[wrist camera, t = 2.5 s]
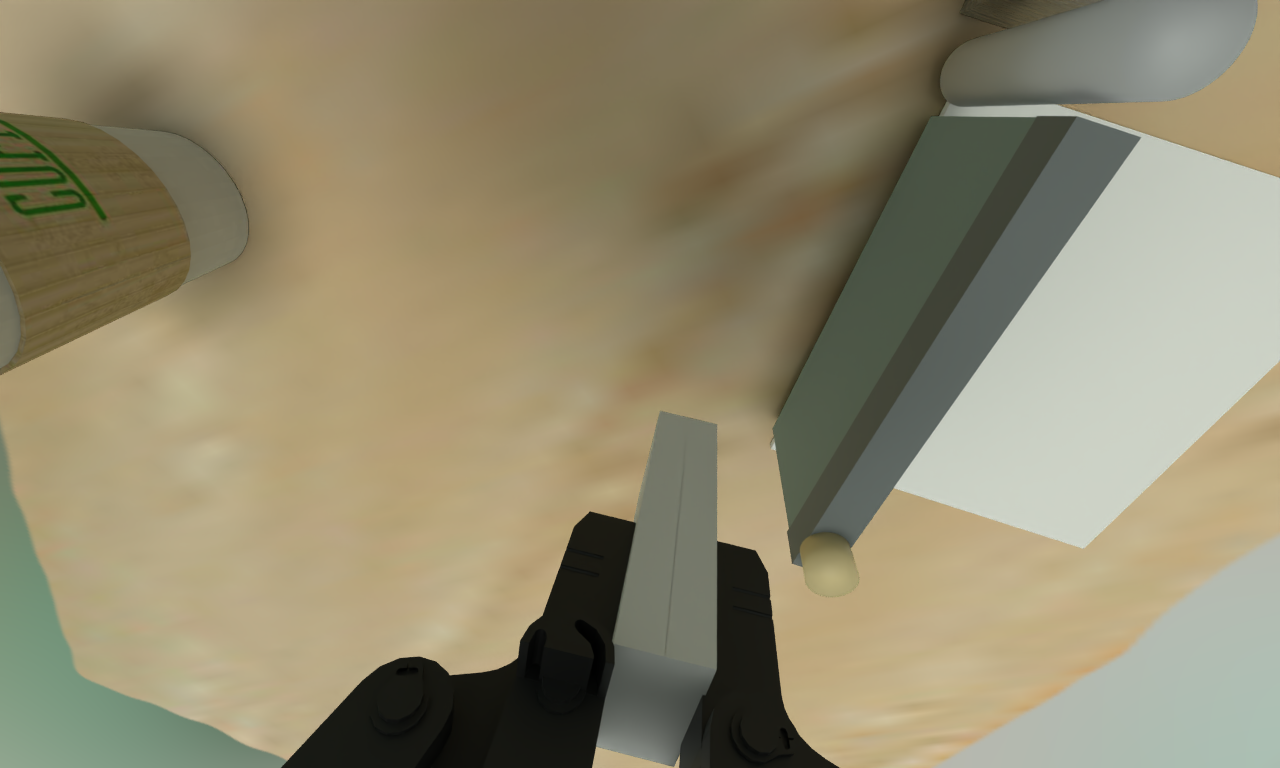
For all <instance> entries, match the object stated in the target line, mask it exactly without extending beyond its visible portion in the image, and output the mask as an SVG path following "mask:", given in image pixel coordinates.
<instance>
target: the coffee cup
mask: <svg viewBox="0 0 1280 768" xmlns="http://www.w3.org/2000/svg"><path fill="white" fill-rule="evenodd" d="M248 233H249V231H248V218H247V213H246V208H245V206H244V203H243V200H242V198H241V195H240V193H239V191H238V190H237V188H236V186H235V184H234V182H233V181H232V179H231V178H230V177H229V175H228V174H227V172H226V171H225V170H224V168H223V167H222V166H221V165H220V164H219V163H218V162H217V161H216V160H215V159H214V158H213V157H212V156H211V155H210V154H209V153H207V152H206V151H205V150H204V149H202V148H201V147H200V146H198V145H197V144H195V143H193V142H192V141H190V140H188V139H186V138H184V137H181V136H179V135H176V134H173V133H168V132H163V131H153V130H142V129H131V128H120V127H109V126H98V125H88V124H86V123H84V122H79V121H74V120H69V119H63V118H53V117H43V116H33V115H23V114H13V113H3V112H0V375H2V374H4V373H6V372H8V371H10V370H12V369H14V368H16V367H18V366H21V365H23V364H25V363H27V362H29V361H31V360H33V359H35V358H37V357H39V356H41V355H44V354H46V353H48V352H50V351H52V350H54V349H56V348H58V347H60V346H62V345H65V344H67V343H69V342H71V341H73V340H75V339H77V338H79V337H81V336H83V335H85V334H88V333H90V332H92V331H94V330H96V329H98V328H100V327H102V326H104V325H106V324H109V323H111V322H113V321H115V320H117V319H119V318H121V317H123V316H125V315H127V314H130V313H132V312H134V311H136V310H138V309H140V308H142V307H144V306H146V305H148V304H150V303H153V302H155V301H157V300H159V299H161V298H163V297H165V296H167V295H169V294H171V293H172V292H174V291H176V290H177V289H178V288H179V287H180V286H181V285H183V284H185V283H187V282H189V281H191V280H193V279H195V278H198V277H200V276H202V275H204V274H206V273H208V272H211V271H213V270H215V269H217V268H219V267H221V266H224V265H226V264H228V263H230V262H231V261H233V260H235V259H236V258H237V257H238V256H239V255H240V254H241V253H242V252H243V250H244V248H245V246H246V244H247V239H248Z"/></svg>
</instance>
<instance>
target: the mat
mask: <svg viewBox="0 0 1280 768" xmlns="http://www.w3.org/2000/svg"><path fill="white" fill-rule="evenodd" d="M939 116H969V117H1037V116H1078V117H1081V118H1084V119H1087V120H1090V121H1094V122H1097V123H1100V124H1103V125H1106V126H1109V127H1112V128H1115V129H1118V130H1121V131H1124V132H1127V133H1130V134H1133V135H1136V136H1139V137H1141V139H1140V140H1139V142H1138V143H1137V144H1136V146H1135V147H1134V149H1133V150H1132V151H1131V153H1130V154H1129V156H1128V157H1127V159H1126V160H1125V161H1124V163H1123V164H1122V166H1121V167H1120V168H1119V170H1118V171H1117V173H1116V174H1115V175H1114V177H1113V178H1112V180H1111V181H1110V183H1109V184H1108V185H1107V187H1106V188H1105V190H1104V191H1103V192H1102V194H1101V195H1100V197H1099V198H1098V200H1097V201H1096V202H1095V204H1094V205H1093V207H1092V208H1091V209H1090V211H1089V212H1088V214H1087V215H1086V216H1085V218H1084V219H1083V221H1082V222H1081V224H1080V225H1079V226H1078V228H1077V229H1076V231H1075V232H1074V233H1073V235H1072V236H1071V238H1070V239H1069V241H1068V242H1067V243H1066V245H1065V246H1064V248H1063V249H1062V250H1061V252H1060V253H1059V255H1058V256H1057V257H1056V259H1055V260H1054V262H1053V263H1052V265H1051V266H1050V267H1049V269H1048V270H1047V272H1046V273H1045V274H1044V276H1043V277H1042V279H1041V280H1040V282H1039V283H1038V284H1037V286H1036V287H1035V289H1034V290H1033V291H1032V293H1031V294H1030V296H1029V297H1028V299H1027V300H1026V301H1025V303H1024V304H1023V306H1022V307H1021V308H1020V310H1019V311H1018V313H1017V314H1016V315H1015V317H1014V318H1013V320H1012V321H1011V323H1010V324H1009V325H1008V327H1007V328H1006V330H1005V331H1004V332H1003V334H1002V335H1001V337H1000V338H999V340H998V341H997V342H996V344H995V345H994V347H993V348H992V349H991V351H990V352H989V354H988V355H987V356H986V358H985V359H984V361H983V362H982V364H981V365H980V366H979V368H978V369H977V371H976V372H975V373H974V375H973V376H972V378H971V379H970V381H969V382H968V383H967V385H966V386H965V388H964V389H963V390H962V392H961V393H960V395H959V396H958V397H957V399H956V400H955V402H954V403H953V405H952V406H951V407H950V409H949V410H948V412H947V413H946V414H945V416H944V417H943V419H942V420H941V422H940V423H939V424H938V426H937V427H936V429H935V430H934V431H933V433H932V434H931V436H930V437H929V438H928V440H927V441H926V443H925V444H924V446H923V447H922V448H921V450H920V451H919V453H918V454H917V455H916V457H915V458H914V460H913V461H912V463H911V464H910V465H909V467H908V468H907V470H906V471H905V472H904V474H903V475H902V477H901V478H900V480H899V481H898V482H897V484H896V485H895V487H894V488H895V489H898V490H901V491H905V492H908V493H911V494H914V495H917V496H920V497H923V498H926V499H930V500H933V501H936V502H939V503H942V504H945V505H948V506H952V507H955V508H958V509H961V510H964V511H967V512H970V513H973V514H977V515H980V516H983V517H986V518H989V519H992V520H995V521H999V522H1002V523H1005V524H1008V525H1011V526H1014V527H1017V528H1020V529H1024V530H1027V531H1030V532H1033V533H1036V534H1039V535H1042V536H1046V537H1049V538H1052V539H1055V540H1058V541H1061V542H1064V543H1067V544H1071V545H1074V546H1077V547H1080V548H1083V549H1084V548H1085V547H1086V546H1087V545H1088V544H1089V543H1090V542H1091V541H1092V540H1093V539H1094V538H1095V537H1096V536H1097V535H1098V534H1100V533H1101V532H1102V531H1103V530H1104V529H1105V528H1106V527H1107V526H1108V525H1109V524H1110V523H1111V522H1112V521H1113V520H1114V519H1115V518H1116V517H1117V516H1118V515H1119V514H1120V513H1121V512H1122V511H1124V510H1125V509H1126V508H1127V507H1128V506H1129V505H1130V504H1131V503H1132V502H1133V501H1134V500H1135V499H1136V498H1137V497H1138V496H1139V495H1140V494H1141V493H1142V492H1143V491H1144V490H1145V489H1146V488H1148V487H1149V486H1150V485H1151V484H1152V483H1153V482H1154V481H1155V480H1156V479H1157V478H1158V477H1159V476H1160V475H1161V474H1162V473H1163V472H1164V471H1165V470H1166V469H1167V468H1168V467H1169V466H1170V465H1171V464H1173V463H1174V462H1175V461H1176V460H1177V459H1178V458H1179V457H1180V456H1181V455H1182V454H1183V453H1184V452H1185V451H1186V450H1187V449H1188V448H1189V447H1190V446H1191V445H1192V444H1193V443H1194V442H1195V441H1197V440H1198V439H1199V438H1200V437H1201V436H1202V435H1203V434H1204V433H1205V432H1206V431H1207V430H1208V429H1209V428H1210V427H1211V426H1212V425H1213V424H1214V423H1215V422H1216V421H1217V420H1218V419H1219V418H1221V417H1222V416H1223V415H1224V414H1225V413H1226V412H1227V411H1228V410H1229V409H1230V408H1231V407H1232V406H1233V405H1234V404H1235V403H1236V402H1237V401H1238V400H1239V399H1240V398H1241V397H1242V396H1243V395H1245V394H1246V393H1247V392H1248V391H1249V390H1250V389H1251V388H1252V387H1253V386H1254V385H1255V384H1256V383H1257V382H1258V381H1259V380H1260V379H1261V378H1262V377H1263V376H1264V375H1265V374H1266V373H1267V372H1268V371H1270V370H1271V369H1272V368H1273V367H1274V366H1275V365H1276V364H1277V363H1278V362H1279V361H1280V178H1278V177H1275V176H1272V175H1269V174H1266V173H1263V172H1260V171H1257V170H1254V169H1251V168H1248V167H1245V166H1242V165H1239V164H1235V163H1232V162H1229V161H1226V160H1223V159H1220V158H1217V157H1214V156H1211V155H1208V154H1205V153H1202V152H1199V151H1196V150H1193V149H1190V148H1187V147H1184V146H1181V145H1178V144H1175V143H1172V142H1169V141H1166V140H1163V139H1159V138H1156V137H1153V136H1150V135H1147V134H1144V133H1141V132H1138V131H1135V130H1132V129H1129V128H1126V127H1123V126H1120V125H1117V124H1114V123H1111V122H1108V121H1105V120H1102V119H1099V118H1096V117H1093V116H1090V115H1087V114H1083V113H1080V112H1077V111H1074V110H1071V109H1068V108H1065V107H1062V106H1059V105H1056V104H1052V105H1017V106H982V107H958V106H955V105H952V104H951V103H949V102H948V101H947V102H946V104H945V106H944V108H943V110H942V112H941V114H940V115H939ZM770 446H771V449H773V450H776V446H775V440H774V438H773V440H772V442H771V444H770Z"/></svg>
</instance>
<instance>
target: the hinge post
mask: <svg viewBox="0 0 1280 768" xmlns="http://www.w3.org/2000/svg"><path fill="white" fill-rule="evenodd" d="M1100 1H1103V0H966V1H965V3H964V5H963V7H962V9H961V11H960V13H961V14H964V15H967V16H970V17H973V18H976V19H979V20H983V21H986V22H989V23H992V24H995V25H998V26H1001V27H1004V28H1007V29H1009V28H1012V27H1015V26H1019V25H1022V24H1025V23H1029V22H1032V21H1036V20H1039V19H1042V18H1046V17H1049V16H1052V15H1056V14H1059V13H1063V12H1066V11H1069V10H1073V9H1076V8H1079V7H1083V6H1086V5H1089V4H1093V3H1096V2H1100Z"/></svg>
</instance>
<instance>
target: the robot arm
mask: <svg viewBox="0 0 1280 768" xmlns="http://www.w3.org/2000/svg"><path fill="white" fill-rule="evenodd" d="M596 747H600V748H603V749H607V750H611V751H615V752H619V753H623V754H627V755H630V756H634V757H638V758H642V759H646V760H650V761H653V762H657V763H661V764H665V765H669V766H673V767H674V766H675V763H676V761H677V759H678V757H679V754H680V764H679V768H839V767H838V766H836V765H834V764H833V763H831V762H830V761H828V760H826V759H825V758H824V757H822V756H821V755H820V754H818V753H817V752H816V751H814V750H813V749H812V748H811V747H810V746H809V745H808V744H807V743H806V742H805V741H804V740H803V739H802V738H801V737H800V735H799V734H798V732H797V731H796V728H795V727H794V725H793V724H792V722H791V721H790V719H789V717H788V715H787V713H786V710H785V708H784V704H783V700H782V695H781V687H780V678H779V669H778V660H777V651H776V642H775V633H774V624H773V620H772V606H771V600H770V588H769V579H768V572H767V570H766V569H765V567H764V565H763V563H762V561H761V559H760V558H759V556H758V554H757V552H756V551H755V550H751V549H747V548H743V547H739V546H735V545H731V544H726V543H722V542H718V541H717V424H713V423H709V422H705V421H701V420H697V419H692V418H688V417H684V416H680V415H676V414H671V413H667V412H663V411H660V413H659V417H658V421H657V425H656V429H655V433H654V437H653V441H652V445H651V449H650V453H649V457H648V461H647V465H646V469H645V473H644V477H643V481H642V485H641V489H640V494H639V498H638V503H637V508H636V513H635V517H634V522H631V521H626V520H622V519H618V518H614V517H610V516H606V515H602V514H598V513H594V512H589V513H588V514H587V515H586V516H585V517H584V518H583V519H582V520H581V521H580V522H579V523H578V524H576V525H575V526H574V529H573V532H572V534H571V537H570V540H569V543H568V546H567V549H566V551H565V554H564V557H563V560H562V562H561V566H560V569H559V571H558V574H557V577H556V579H555V582H554V585H553V588H552V591H551V593H550V596H549V599H548V602H547V605H546V607H545V610H544V613H543V616H542V617H540V618H539V619H538V620H536V621H535V622H533V623H532V624H531V625H530V626H529V627H528V629H527V631H526V632H525V634H524V635H523V637H522V639H521V640H520V647H519V655H518V658H517V659H516V660H515V661H513V662H512V663H510V664H508V665H506V666H504V667H502V668H499V669H497V670H492V671H487V672H482V673H471V674H460V675H449V673H448V672H447V671H446V670H445V669H444V668H442V667H441V666H440V665H439V664H438V663H437V662H436V661H432V660H429V659H426V658H422V657H408V658H399V659H397V660H394V661H392V662H390V663H387V664H385V665H382V666H380V667H379V668H377V669H376V670H375V671H374V672H372V673H371V674H370V675H369V676H367V677H366V678H365V679H364V680H363V681H361V683H360V684H359V685H358V686H357V687H356V688H355V689H354V690H353V691H352V692H351V693H350V694H349V695H348V696H347V698H346V699H345V700H344V701H343V702H342V703H341V704H340V705H339V706H338V707H337V708H336V709H335V710H334V711H333V713H332V714H331V715H330V716H329V717H328V718H327V719H326V720H325V721H324V722H323V723H322V724H321V725H320V727H319V728H318V729H317V730H316V731H315V732H314V733H313V734H312V735H311V736H310V737H309V738H308V739H307V740H306V742H305V743H304V744H303V745H302V746H301V747H300V748H299V749H298V750H297V751H296V752H295V753H294V754H293V755H292V757H291V758H290V759H289V760H288V761H287V762H286V763H285V764H284V765H283V766H282V767H281V768H592V765H593V760H594V755H595V749H596Z"/></svg>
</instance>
